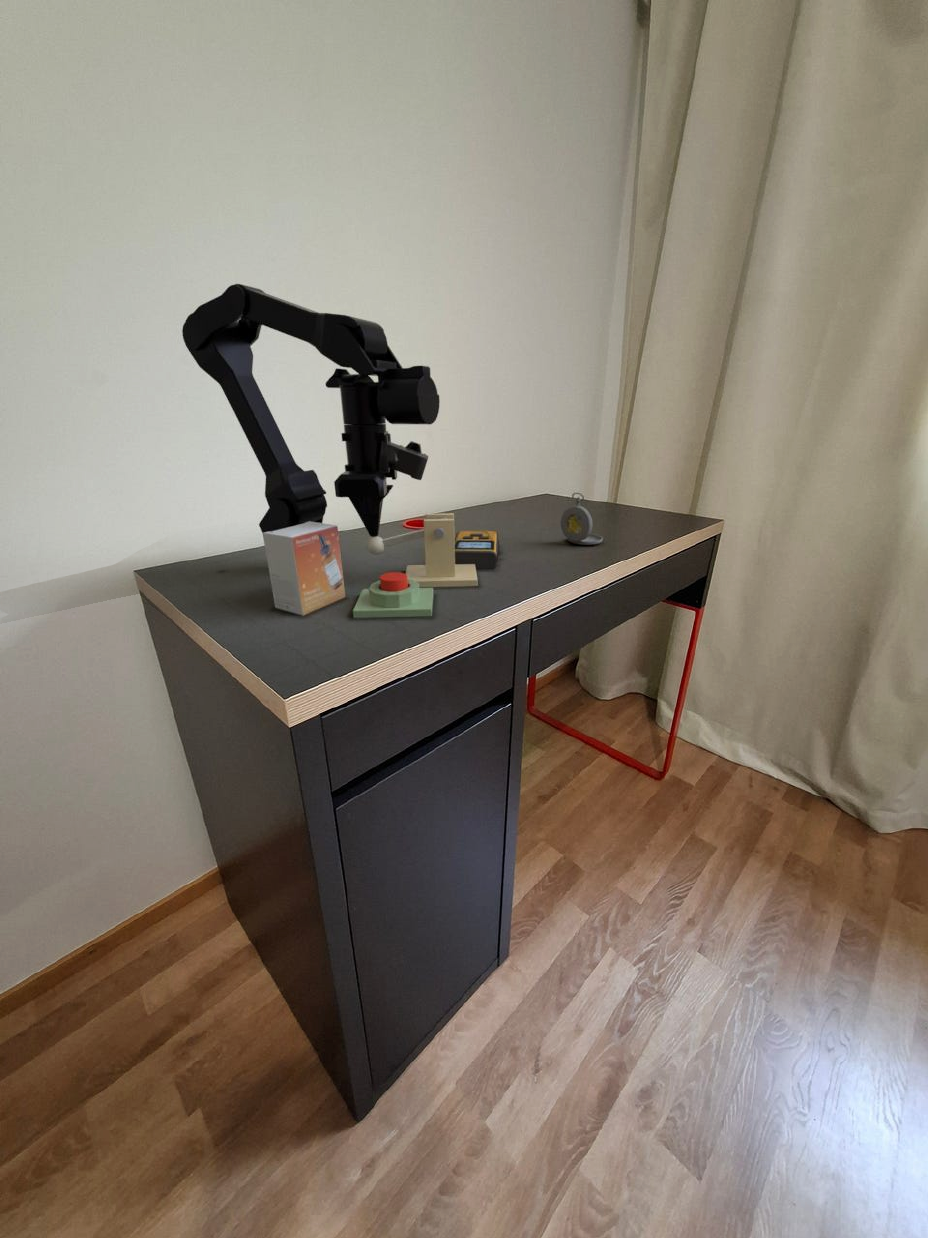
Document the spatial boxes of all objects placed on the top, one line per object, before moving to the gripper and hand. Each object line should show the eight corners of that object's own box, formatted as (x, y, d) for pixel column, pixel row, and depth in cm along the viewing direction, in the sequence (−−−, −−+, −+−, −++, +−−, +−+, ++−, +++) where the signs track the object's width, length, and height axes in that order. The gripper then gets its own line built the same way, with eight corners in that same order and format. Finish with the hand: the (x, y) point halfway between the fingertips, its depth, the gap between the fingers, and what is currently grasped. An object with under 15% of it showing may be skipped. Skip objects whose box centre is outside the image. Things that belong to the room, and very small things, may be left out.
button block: (353, 619, 62) (351, 597, 61) (363, 597, 70) (361, 577, 68) (431, 617, 63) (430, 595, 61) (433, 595, 70) (432, 575, 69)
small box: (302, 617, 63) (290, 537, 59) (274, 609, 66) (260, 532, 62) (347, 598, 69) (338, 524, 65) (319, 591, 72) (309, 520, 68)
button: (379, 593, 63) (378, 581, 63) (382, 584, 67) (381, 572, 66) (407, 593, 63) (406, 580, 63) (409, 584, 67) (408, 571, 66)
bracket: (403, 588, 72) (399, 523, 69) (407, 572, 80) (404, 512, 76) (477, 587, 73) (477, 522, 69) (474, 570, 80) (474, 510, 76)
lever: (368, 558, 73) (362, 540, 72) (371, 553, 76) (365, 536, 75) (450, 537, 72) (446, 519, 71) (450, 533, 75) (446, 515, 74)
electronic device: (499, 546, 94) (499, 529, 93) (498, 571, 80) (499, 551, 79) (455, 546, 95) (455, 528, 94) (447, 570, 81) (447, 550, 79)
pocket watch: (601, 538, 98) (607, 487, 94) (602, 550, 91) (608, 495, 87) (560, 537, 100) (563, 486, 96) (558, 547, 92) (561, 494, 88)
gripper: (420, 426, 59) (425, 552, 65) (426, 421, 76) (430, 521, 82) (326, 427, 58) (341, 553, 65) (354, 422, 75) (363, 522, 82)
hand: (374, 536), depth 73 cm, fingers closed
